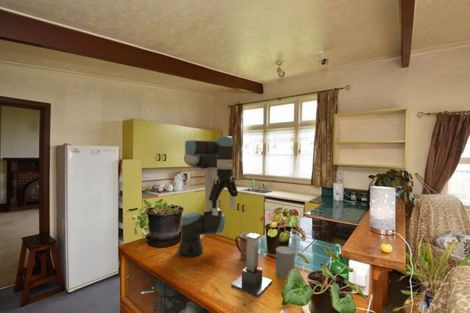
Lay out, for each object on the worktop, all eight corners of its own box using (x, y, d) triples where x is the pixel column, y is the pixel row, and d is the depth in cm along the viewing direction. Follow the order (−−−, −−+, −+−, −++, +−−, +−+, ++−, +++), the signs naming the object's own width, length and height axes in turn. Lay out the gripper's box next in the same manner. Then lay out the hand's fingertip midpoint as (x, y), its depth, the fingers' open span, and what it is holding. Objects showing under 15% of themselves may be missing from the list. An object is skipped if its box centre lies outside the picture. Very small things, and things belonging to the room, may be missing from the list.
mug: (257, 258, 136) (258, 235, 135) (249, 263, 128) (249, 239, 128) (240, 252, 143) (240, 230, 143) (231, 257, 136) (231, 234, 136)
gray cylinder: (290, 280, 112) (291, 255, 112) (272, 275, 117) (272, 251, 117) (296, 272, 120) (297, 248, 120) (279, 267, 125) (279, 244, 125)
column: (244, 269, 108) (245, 235, 108) (250, 265, 112) (250, 232, 112) (254, 273, 105) (255, 238, 105) (259, 268, 109) (260, 234, 109)
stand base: (231, 286, 107) (231, 268, 107) (246, 273, 119) (247, 256, 118) (258, 297, 99) (258, 277, 99) (272, 282, 111) (272, 264, 111)
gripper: (214, 170, 100) (213, 219, 100) (244, 167, 120) (244, 208, 121) (201, 169, 104) (200, 216, 104) (232, 166, 124) (232, 205, 125)
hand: (224, 212), depth 113 cm, fingers open, 13 cm apart
